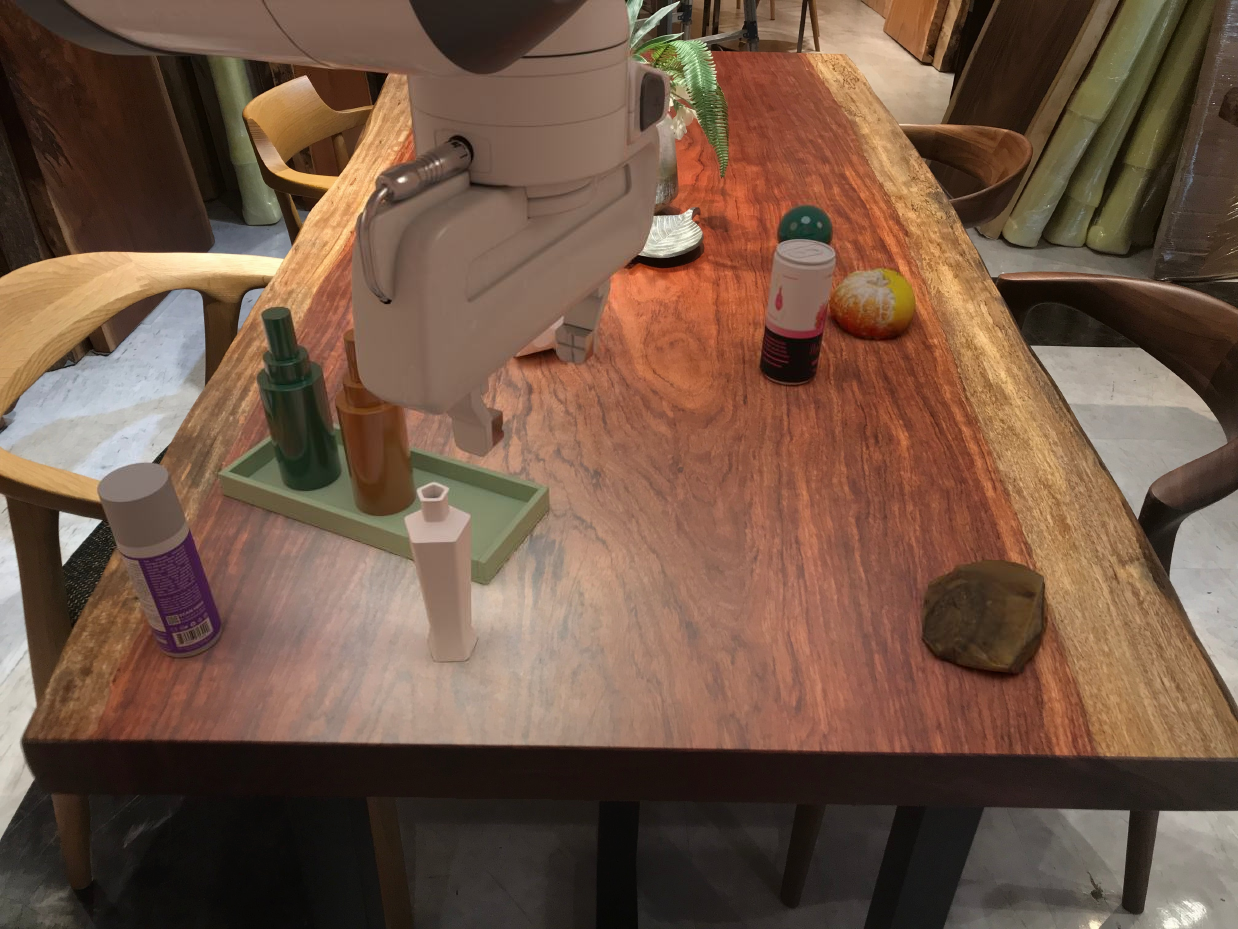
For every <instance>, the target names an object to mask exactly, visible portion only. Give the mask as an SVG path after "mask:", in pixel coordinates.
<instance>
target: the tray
mask: <svg viewBox="0 0 1238 929" xmlns="http://www.w3.org/2000/svg"><path fill="white" fill-rule="evenodd" d="M333 425H334V430H335V435H336V440H337V445H338V450H339V455H340V460H341V465H342V472H341V475H340V476H339V478H338V479H337V480H336V481H335V482H333V483H332V484H330V485H328V486H326V487H324V488H321V489H317V490H311V491H298V490H293V489H291V488H288V487H287V486H286V485H284V483H283V482H282V480H281V476H280V472H279V468H278V464H277V460H276V456H275V452H274V448H273V444H272V440H271V436H270V435H268V436H267V437H265V438H264V439H263V440H261V441H259V443H257V444H256V445H255V446H253V447H251V449H249V450H247V451H246V452H245V453H244V454H242V455H240V456H239V457H237V459H235V460H234V461H232V462H231V463H230V464H228V465H227V466H226V467H223V469H221V470H220V471H219V472H218V473H217V476H218V480H219V483H220V486H221V489H222V494H223V495H224V496H225V497H226V496H227V497H229V498H233V499H235V500H238V501H241V502H244V503H247V504H250V505H252V506H256V507H259V508H261V509H264V510H268V511H270V512H272V513H276V514H279V515H282V516H284V517H288V518H291V519H293V520H296V521H299V522H302V523H304V524H305V523H306V524H308V525H310V526H314V527H316V528H319V529H323V530H326V531H328V532H331V533H333V534H337V535H340V536H342V537H345V538H348V539H351V540H354V541H357V542H360V543H362V544H365V545H369V546H372V547H375V548H377V549H380V550H383V551H386V552H389V553H392V554H395V555H398V556H399V557H400V556H401V557H403V558H406V559H409V560H412V561H414V558H413V554H412V550H411V545H410V541H409V537H408V533H407V529H406V525H405V520H404V518H405V517H406V516H408V515H410V514H412V513H414V512H417V511H419V510H421V503H420V499H419V496H418V493H417V489H418V488H420V487H423V486H425V485H427V484H429V483H432V482H436V483H439V484H441V485H444V486H446V487H448V488H449V491H448V493H447V494H448V503H449V505H450V506H452V507H454V508H456V509H459V510H461V511H463V512H465V513H468V514H469V515H470V516H471V581H472V582H475V583H478V584H481V585H485V586H487V585H488V584H489V583H490V582H491V580H492V579H493V578H494V577H495V575H496V574H497V573H498V572H499V571H500V570H501V568H502V567H503V566H504V565H505V563H507V561H508V560H509V558H510V557H511V556H512V555H513V554H514V553H515V551H516V550H517V549H518V548H519V546H520V545H521V544H522V542H523V541H524V540H525V539H526V538H527V536H529V534H530V533H531V531H532V530H533V529H534V528H535V527H536V525H537V524H538V523H539V522H540V521H541V520H542V518H543V517H544V516H545V514H546V513H547V512H548V511H549V510H550V509H551V507H550V505H551V504H550V487H549V486H547V485H543V484H541V483H537V482H534V481H531V480H527V479H524V478H520V477H516V476H514V475H510V474H506V473H504V472H500V471H497V470H493V469H490V468H486V467H483V466H479V465H477V464H473V463H470V462H467V461H462V460H460V459H456V458H453V457H449V456H446V455H443V454H440V453H436V452H434V451H429V450H427V449H423V448H420V447H416V446H413V445H410V444H409V446H410V453H411V460H412V467H413V474H414V481H415V488H416V498H415V500H414V502H413V503H412V504H411V505H410V506H409V507H408V508H406V509H405V510H403V511H401V512H399V513H396V514H392V515H387V516H373V515H368V514H365V513H363V512H361V511H360V510H359V509H358V508H357V507H356V505H355V502H354V497H353V492H352V487H351V482H350V477H349V471H348V466H347V461H346V456H345V451H344V446H343V441H342V436H341V430H340V425H339V423H335V422H333Z"/></svg>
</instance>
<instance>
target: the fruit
mask: <svg viewBox="0 0 1238 929" xmlns="http://www.w3.org/2000/svg"><path fill="white" fill-rule="evenodd" d="M828 304H829V314H830V317H831V318H832V320H834V322H835V323H839V328H840V329H842V330H844V331H845V332H849V333H850V335H851V336H854V337H856V338H861V339H865V340H872V341H881V340H892V339H894V338H898V337H900V336H901V335H902V334H903V333H904V332H905V331H906V330H908V328H909V327H910V325H911V323H912V322H913V319H914V316H915V312H916V305H917V304H916V296H915V292H914V289H913V286H912V284H911V283H910V282H909V281H908V280H907V279H906V278H905V277H904V275H902V274H901V273H899V272H897V271H895V270H891V269H889V268H883V267H880V268H879V267H876V268H875V269H869V270H856V271H853V272H850V273H849V274H848V275H847V276H846V277H845V278H844V279H843V280H842V281H841V282H840V283H839V284H837V285H836V286H835V288H834V289H833V290H832V293H831V294H830V297H829V303H828Z"/></svg>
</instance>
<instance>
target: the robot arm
mask: <svg viewBox="0 0 1238 929" xmlns="http://www.w3.org/2000/svg"><path fill="white" fill-rule="evenodd" d="M10 1H11V2H12V3H13V4H14V5H16V7H18V9H20V10H21V11H22V12H23V13H25V14H26V15H27V16H29V17H30V18H31V19H33V20H34V21H35V22H37V23H38V24H39V25H41V26H43V27H44V28H45V29H47V30H49V31H50V32H51V33H54V34H55V35H57V36H59V37H60V38H62V39H64V40H67V41H68V42H71V43H73V44H74V45H77V46H80V47H82V48H85V49H88V50H91V51H95V52H98V53H102V54H107V55H114V56H146V57H147V56H150V57H151V56H154V57H155V56H156V57H157V56H158V57H159V56H161V57H170V56H171V57H197V56H212V57H213V56H214V57H221V58H232V59H239V60H240V59H241V60H249V61H250V60H251V61H258V62H268V63H278V64H287V65H294V66H296V65H297V66H303V67H304V66H305V67H311V68H320V69H321V68H322V69H331V70H355V71H364V72H365V71H366V72H374V73H380V74H381V73H382V74H391V75H392V74H393V75H403V76H406V81H407V92H408V102H409V109H410V118H411V127H412V138H413V146H414V153H415V158H414V159H412V160H410V161H408V162H406V161H404V162H403V161H402V162H399V163H396V164H394V165H391V166H390V167H387V168H386V169H384V170H383V171H381V172H380V174H379V175H377V177H376V178H375V181H374V183H375V184H374V187H375V189H374V190H373V191H372V193H371V194H370V196H369V197H368V199H367V201H366V202H365V206H364V207H363V210H362V212H360V213H359V214H358V216H357V218H356V222H355V235H354V236H355V237H354V239H353V247H352V255H351V257H352V258H351V272H350V274H351V275H350V276H351V280H350V281H351V306H352V307H351V309H352V325H353V328H354V340H355V350H356V359H357V367H358V373H359V377H360V380H361V383H362V384H363V386H364V387H365V388H366V389H367V390H368V391H370V392H371V393H372V394H374V395H375V396H376V397H378V398H380V399H381V400H384V401H386V402H389V403H392V404H395V405H398V406H401V407H404V409H408V410H411V411H414V412H418V413H422V414H425V415H430V416H440V415H444V414H445V413H446V414H447V415H448V417H449V418H451V421H452V432H453V441H454V443H455V445H456V447H457V448H458V449H460V451H462V452H465V453H468V454H471V455H474V456H477V457H483V458H484V457H486V456H487V455H488V454H489V453H490V452H491V451H492V450H493V449H494V448H495V447H496V446H497V445H498V444H500V442H501V441H502V440H503V439H504V437H505V431H504V430H503V426H504V415H503V411H502V410H500V409H497V408H494V407H487V405H486V404H485V402H484V400H483V398H482V397H483V396H485V395H486V394H488V393H489V390H490V387H489V386H490V385H489V378H490V377H491V376H492V375H494V373H496V372H497V371H499V369H501V368H502V367H503V366H504V365H505V364H507V363H508V362H509V361H510V360H512V359H513V358H514V357H516V356H515V355H516V354H518V353H519V352H520V351H521V350H522V349H524V348H525V347H526V346H527V345H529V344H530V343H531V342H532V341H533V340H535V339H536V338H537V337H538V336H540V335H541V334H542V333H543V332H544V331H546V330H547V329H548V328H549V327H550V326H552V325H553V324H554V323H555V322H557V321H558V320H559V319H560V318H561V317H563V316H564V318H563V324H562V325H561V326H560V327H558V328H557V329H556V342H557V347H556V350H555V351H556V352H555V354H556V356H557V358H558V359H559V360H560V361H562V362H565V363H572V364H573V365H577V366H582V365H584V364H585V363H586V362H587V361H589V359H591V358H592V357H593V356H594V355H595V354H596V353H597V352H598V349H599V348H598V347H599V326H600V324H601V320H602V317H603V314H604V311H605V308H606V305H607V301H608V298H609V295H610V291H611V278H612V277H613V276H614V275H615V274H616V273H618V272H619V271H620V270H621V269H622V268H624V267H625V266H626V265H627V264H628V263H630V262H631V261H632V260H633V259H634V258H636V257H637V256H639V255H640V254H641V253H642V252H643V251H644V249H645V246H646V244H647V241H648V239H649V236H650V233H651V230H652V228H653V224H654V218H655V210H656V201H657V200H656V199H657V192H658V180H659V168H660V150H661V149H660V148H661V142H660V140H661V139H660V132H659V129H658V127H657V125H659V124H660V123H662V122H663V121H664V120H665V119H666V118H667V116H668V114H669V110H670V102H671V78H670V75H669V73H668V72H666V71H665V70H663V69H658V68H656V67H653V66H650V65H647V64H646V63H641V62H640V61H637V60H635V59H632V58H630V56H631V55H630V52H631V50H630V48H631V22H630V17H629V16H630V15H629V11H628V7H627V4H626V0H10Z"/></svg>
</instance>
